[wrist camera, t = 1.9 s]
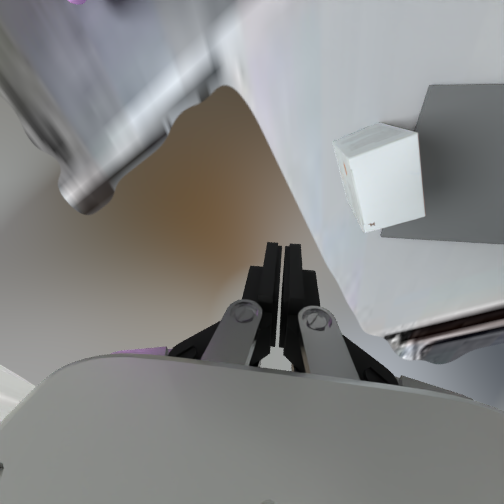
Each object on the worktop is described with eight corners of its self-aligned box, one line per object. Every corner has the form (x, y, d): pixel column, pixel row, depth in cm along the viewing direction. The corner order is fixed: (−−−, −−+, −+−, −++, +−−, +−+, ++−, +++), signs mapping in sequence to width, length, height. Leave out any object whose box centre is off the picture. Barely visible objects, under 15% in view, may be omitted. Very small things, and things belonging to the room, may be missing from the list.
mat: (429, 85, 25) (431, 85, 25) (607, 82, 23) (614, 82, 23) (380, 235, 35) (381, 237, 34) (502, 242, 33) (505, 244, 32)
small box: (389, 184, 31) (427, 218, 22) (345, 199, 33) (364, 236, 24) (380, 120, 27) (421, 130, 19) (330, 140, 29) (347, 158, 20)
